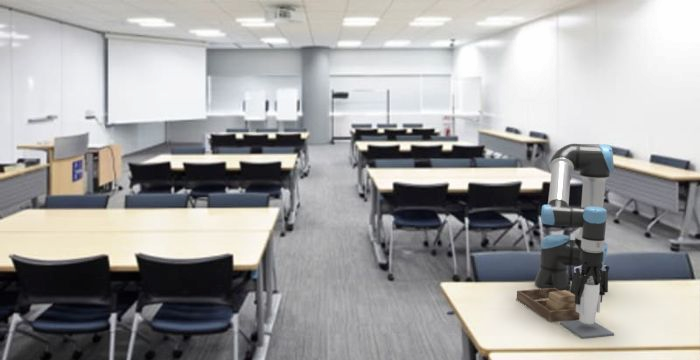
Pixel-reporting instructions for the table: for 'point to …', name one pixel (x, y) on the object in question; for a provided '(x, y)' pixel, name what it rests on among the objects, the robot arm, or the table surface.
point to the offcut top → (562, 297)
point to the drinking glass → (589, 302)
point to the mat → (586, 329)
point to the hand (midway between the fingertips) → (587, 311)
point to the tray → (539, 305)
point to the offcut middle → (559, 307)
